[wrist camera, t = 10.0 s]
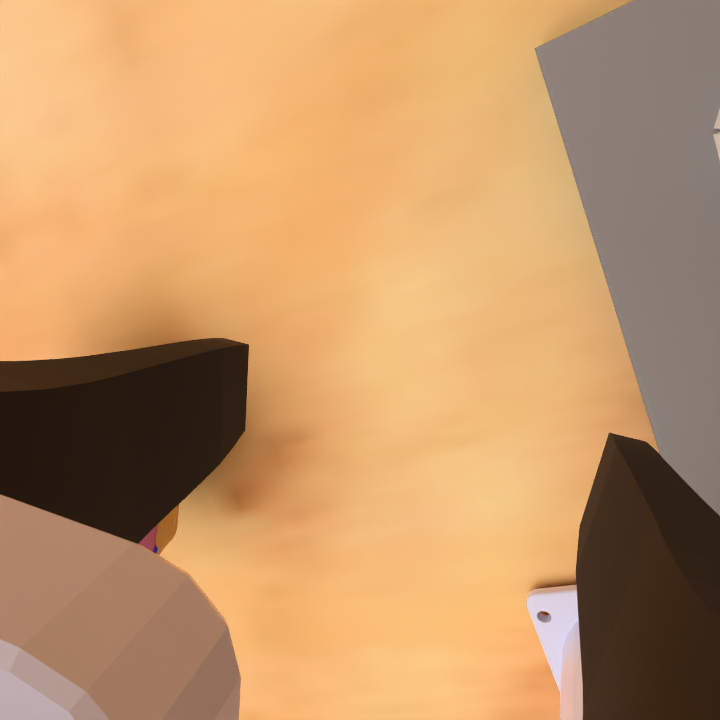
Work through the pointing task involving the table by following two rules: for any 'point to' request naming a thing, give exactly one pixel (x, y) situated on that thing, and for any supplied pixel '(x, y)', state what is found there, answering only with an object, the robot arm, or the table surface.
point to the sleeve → (717, 134)
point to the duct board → (654, 204)
